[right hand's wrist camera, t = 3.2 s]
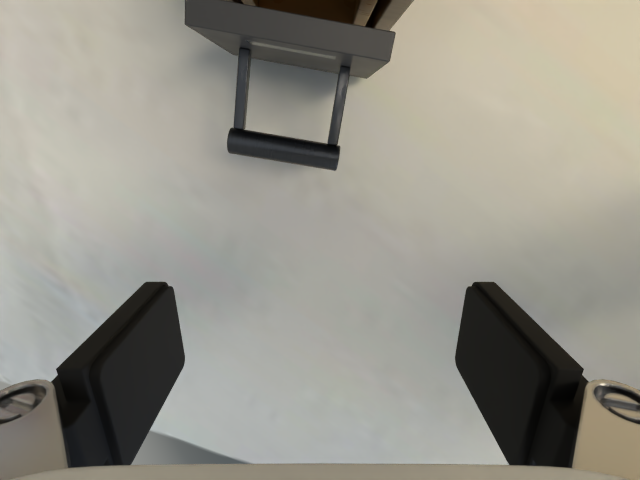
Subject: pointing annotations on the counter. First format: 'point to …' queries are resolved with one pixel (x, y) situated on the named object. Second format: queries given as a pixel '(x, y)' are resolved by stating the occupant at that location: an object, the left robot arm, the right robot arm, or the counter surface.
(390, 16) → the cabinet
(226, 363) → the counter surface
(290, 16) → the drawer
